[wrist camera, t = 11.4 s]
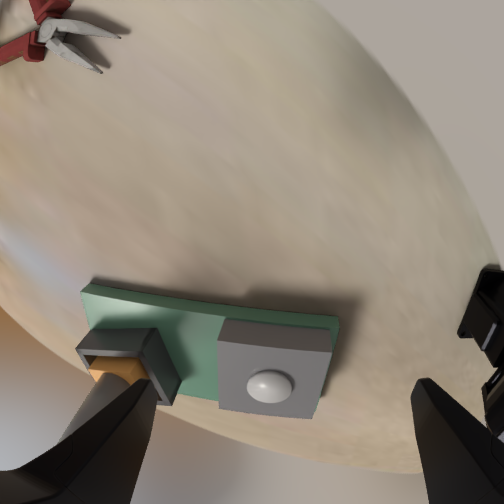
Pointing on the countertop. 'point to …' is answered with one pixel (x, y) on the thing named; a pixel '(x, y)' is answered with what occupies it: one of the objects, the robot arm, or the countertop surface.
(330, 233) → the countertop surface
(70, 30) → the pliers
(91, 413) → the plug
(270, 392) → the grey button box
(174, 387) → the frame
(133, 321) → the board
